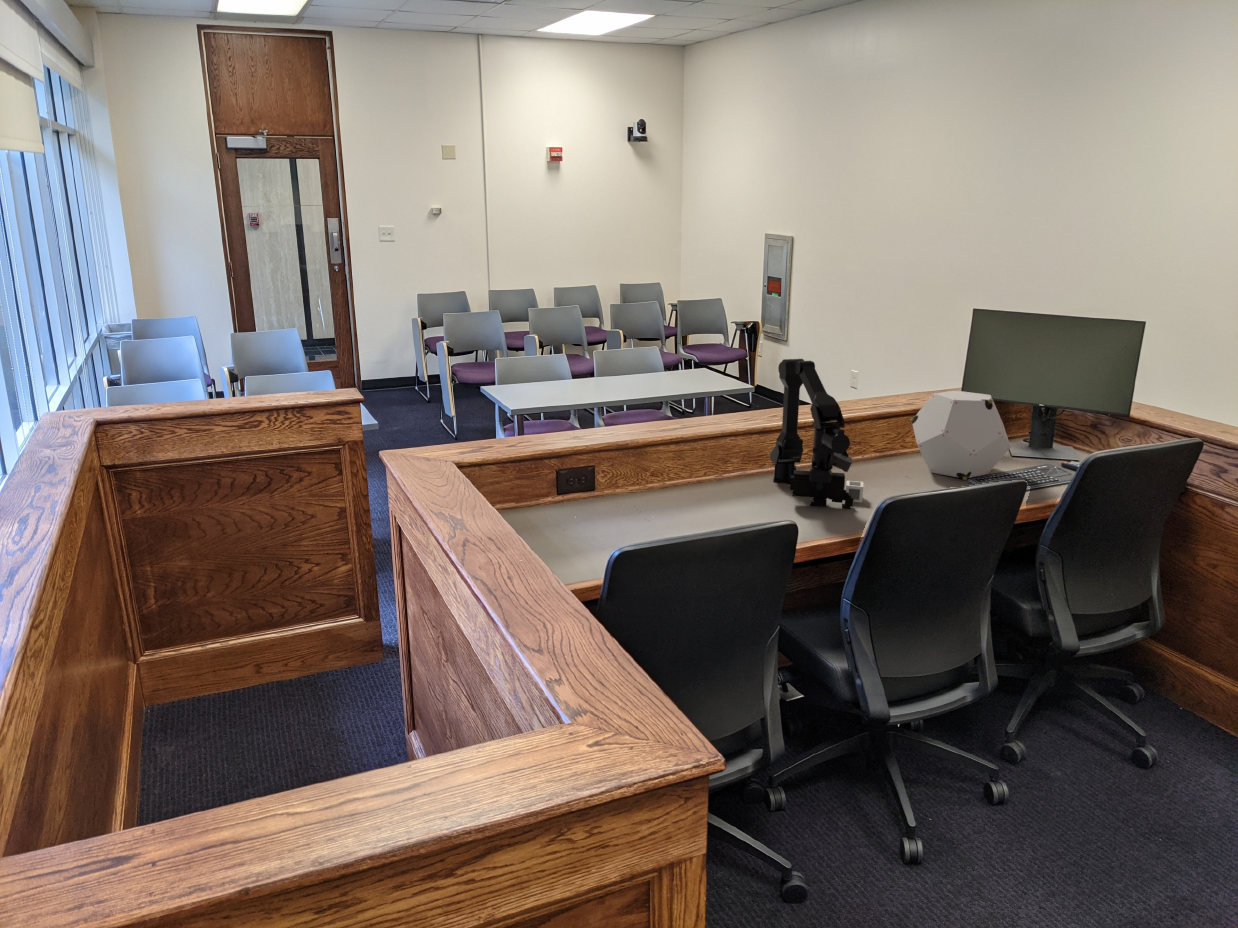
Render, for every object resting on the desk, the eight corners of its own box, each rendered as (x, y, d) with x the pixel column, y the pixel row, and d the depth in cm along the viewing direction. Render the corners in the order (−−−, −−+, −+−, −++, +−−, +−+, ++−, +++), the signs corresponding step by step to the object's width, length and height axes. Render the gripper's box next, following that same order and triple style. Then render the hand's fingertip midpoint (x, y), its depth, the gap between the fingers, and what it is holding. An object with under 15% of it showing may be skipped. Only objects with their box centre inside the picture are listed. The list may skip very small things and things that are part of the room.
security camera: (853, 511, 256) (856, 479, 253) (788, 507, 259) (791, 475, 256) (852, 504, 262) (854, 472, 259) (789, 499, 266) (791, 468, 263)
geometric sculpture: (967, 507, 281) (932, 432, 271) (916, 481, 309) (882, 412, 299) (1042, 456, 283) (1010, 379, 272) (984, 435, 311) (953, 364, 301)
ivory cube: (844, 501, 265) (846, 485, 263) (845, 495, 270) (846, 480, 268) (862, 502, 264) (863, 486, 262) (862, 497, 268) (863, 481, 267)
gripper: (851, 455, 245) (846, 507, 249) (852, 438, 262) (847, 487, 266) (810, 452, 247) (807, 504, 252) (814, 435, 265) (810, 484, 269)
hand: (819, 494), depth 260 cm, fingers open, 9 cm apart
